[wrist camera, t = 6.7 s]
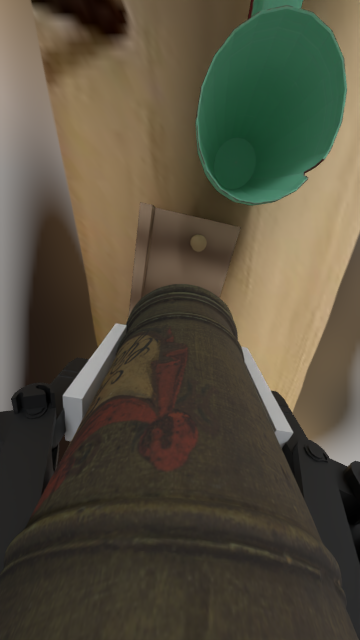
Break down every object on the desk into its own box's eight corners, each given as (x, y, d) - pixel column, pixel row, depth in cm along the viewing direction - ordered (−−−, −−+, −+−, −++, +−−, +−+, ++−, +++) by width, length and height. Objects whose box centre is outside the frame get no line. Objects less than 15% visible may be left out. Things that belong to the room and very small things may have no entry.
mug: (268, 215, 24) (319, 205, 15) (189, 213, 24) (192, 203, 15) (301, 35, 18) (421, -162, 9) (195, 34, 18) (207, -164, 9)
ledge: (149, 208, 24) (139, 201, 19) (234, 227, 25) (248, 226, 19) (133, 338, 32) (123, 360, 26) (198, 350, 33) (201, 374, 27)
